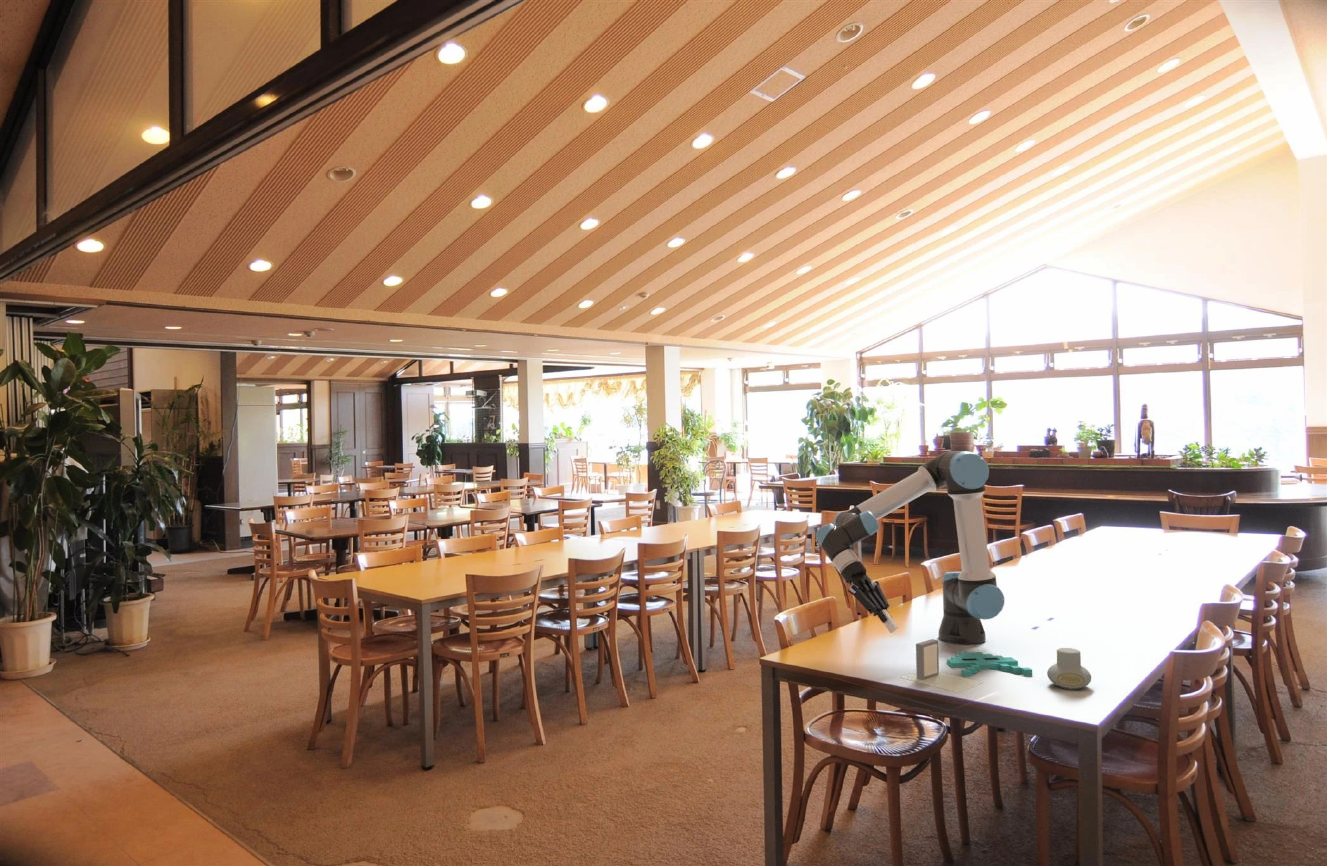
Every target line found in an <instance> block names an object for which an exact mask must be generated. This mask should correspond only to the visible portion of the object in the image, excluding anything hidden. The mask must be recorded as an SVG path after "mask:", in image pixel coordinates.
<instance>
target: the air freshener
mask: <svg viewBox="0 0 1327 866" xmlns="http://www.w3.org/2000/svg"><path fill="white" fill-rule="evenodd" d="M1081 657H1082V656H1081V651H1080V650H1078V649H1076V648H1073V647H1071V648H1070V647H1060V648H1057V649H1056V663H1054V664H1052V665H1050V666H1049V668H1048V670H1047V672H1046V675H1047V678H1048V679H1049V681H1050V682H1051V683H1052V684H1054V685H1056V686H1057V687H1060V688H1062V689H1065V690H1070V691H1071V690H1080V689H1082V688H1085V687H1087V686H1088V685H1089V684H1090V683H1091V681H1092V675H1091V673H1090V671H1089V670H1088V669H1086V668H1085V667H1084V666H1083V665H1081V664H1082V663H1081V659H1082V658H1081Z"/></svg>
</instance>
